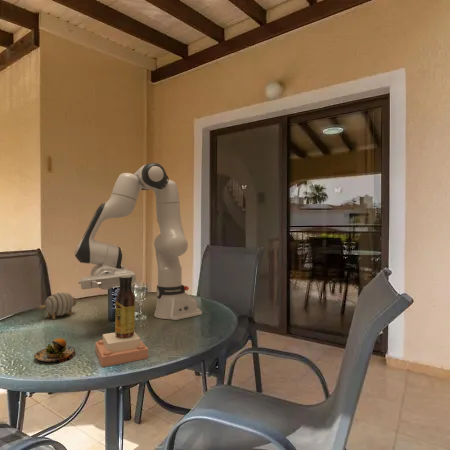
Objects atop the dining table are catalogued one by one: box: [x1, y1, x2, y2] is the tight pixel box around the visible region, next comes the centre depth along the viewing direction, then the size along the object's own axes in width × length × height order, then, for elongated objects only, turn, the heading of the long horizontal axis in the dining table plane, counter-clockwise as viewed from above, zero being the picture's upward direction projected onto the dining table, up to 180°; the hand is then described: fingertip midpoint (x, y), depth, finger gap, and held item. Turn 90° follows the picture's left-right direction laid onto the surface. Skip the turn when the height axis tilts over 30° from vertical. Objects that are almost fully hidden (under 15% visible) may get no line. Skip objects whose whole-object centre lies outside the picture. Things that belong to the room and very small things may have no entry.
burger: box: [33, 332, 76, 364], centre depth 106 cm, size 12×12×8 cm
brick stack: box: [94, 331, 149, 368], centre depth 108 cm, size 14×14×6 cm
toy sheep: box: [38, 292, 77, 320], centre depth 150 cm, size 11×17×11 cm, turn 149°
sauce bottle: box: [114, 275, 136, 338], centre depth 109 cm, size 6×6×20 cm
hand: (112, 283), depth 121 cm, fingers open, 8 cm apart
